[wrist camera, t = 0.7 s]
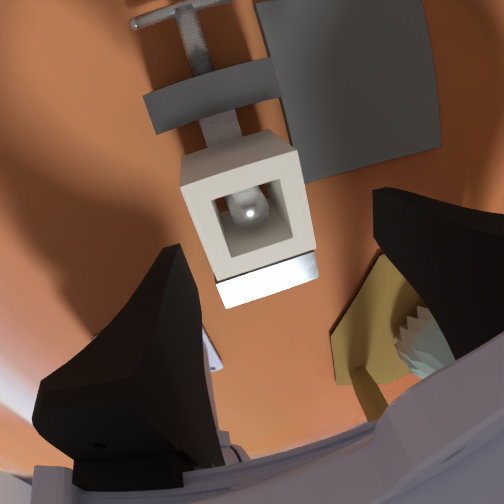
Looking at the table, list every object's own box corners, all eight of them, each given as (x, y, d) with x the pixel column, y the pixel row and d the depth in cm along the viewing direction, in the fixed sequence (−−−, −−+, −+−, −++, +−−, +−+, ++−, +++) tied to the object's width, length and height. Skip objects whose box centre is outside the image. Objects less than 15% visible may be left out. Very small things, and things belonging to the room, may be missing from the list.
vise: (297, 241, 24) (327, 292, 19) (218, 267, 23) (229, 325, 18) (232, -5, 14) (252, -35, 9) (131, 26, 14) (108, 7, 9)
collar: (209, 232, 20) (217, 281, 15) (181, 156, 17) (179, 187, 13) (287, 206, 20) (316, 248, 16) (268, 129, 17) (297, 150, 13)
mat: (298, 181, 21) (301, 184, 21) (253, 5, 15) (255, 3, 14) (436, 144, 21) (441, 147, 21) (415, -4, 15) (420, -5, 14)
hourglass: (445, 362, 40) (523, 489, 19) (308, 400, 36) (376, 583, 15) (512, 219, 28) (655, 358, 7) (355, 220, 24) (575, 523, 3)
